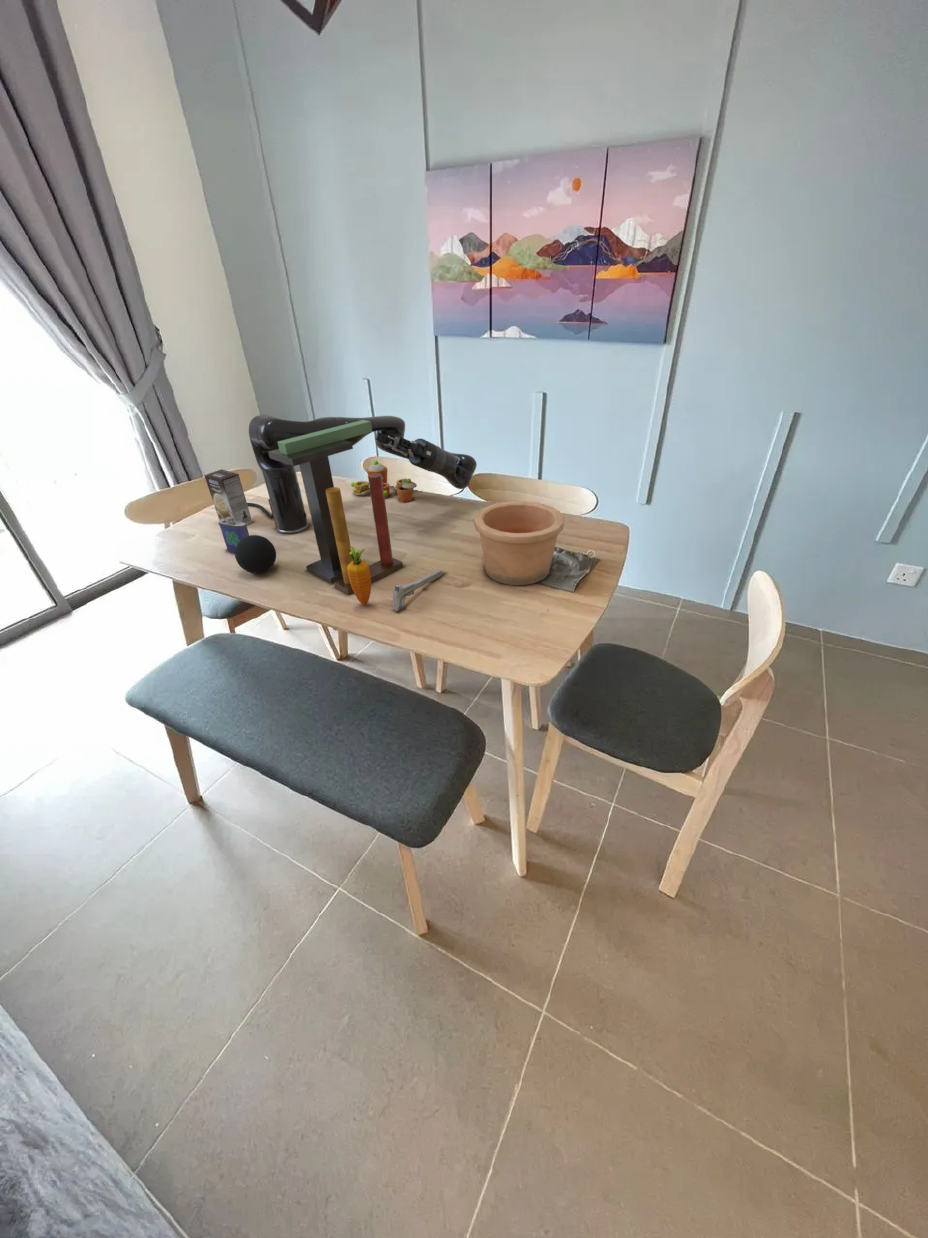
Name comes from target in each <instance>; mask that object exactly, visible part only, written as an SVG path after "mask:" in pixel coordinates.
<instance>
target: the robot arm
mask: <svg viewBox="0 0 928 1238" xmlns="http://www.w3.org/2000/svg"><path fill="white" fill-rule="evenodd" d="M361 420H367V421H371V426H372V432H370V433H366V434H362V435H359V436H355V437H352V438H348V439H344V441H348V442H352V446H353V447H354V446H355V445H356V444H358V443H359V442H360V441H362V440H363V439H364V438H366V437H367V436H368V435H370V434H372V433H374V432H375V433H376V434H375V437H374V441H375V445H376V447H377V448H378V449H380V450H381V451H383V452H386V453H388V454H391V455H394V456H397V457H400V458H403V459H406V460H408V461H409V463H410V464H411V465H413V466H414V467H418V468H420V469H421V470H425V471H427V472H430V473H434V474H436V475H440V476H442V477H443V478H444V479H445V480H446V481H447V482H448V483H449V484H450V485H451V486H452V487H453V488H455V489H457V490H464V489H466V488H468V486H469V485H470V482H471V480H472V478H473V476H474V474H475V471H476V470H477V466H478V463H477V461H476V459H475V458H474V457H473V456H471V455H469V454H465V453H456V452H455V453H454V452H451V451H447V450H445V449H443V448H441V447H440V446H438V445H436V444H434V443H432V442H430V441H428V440H426V439H424V438H416V439H414V440H408V439H406V438H405V433H406V422H405V421H404V420H403V418H401V417H399V416H396V415H395V416H394V415H377V416H375V415H374V416H366V417H354V416H353V417H351V416H350V417H349V416H348V417H346V416H324V417H318V418H315V419H312V420H308V421H302V420H301V421H299V420H290V419H283V418H279V417H275V416H271V415H268V414H258V415H256V416H254V417H253V418H252V419H251V420H250V422H249V424H248V437H249V441H250V445H251V447H252V448H251V449H252V451H253V454H254V458H255V461H256V463H257V465H258V467H259V468H260V470H261V473H262V476H263V479H264V482H265V487H266V491H267V494H268V497H269V498H268V504H269V507H270V511H271V513H270V512H269V511H268V510H266V509H265V508H264V507H263V506H262V505H261V504H258V503H253V502H247V505H248V507H255V508H258V509H260V510H261V511H262V512H263V513H264V514H265V515H266V516H267V517H268V518H269V519H272V520H273V522H274V526H275V529H277V531H278V532H279V533H280V534H287V535H288V534H289V535H290V534H297V533H300V532H303V531H305V530H306V529H307V528H309V525H310V524H309V522H308V515H307V512H306V509H305V503H304V501H303V496H302V492H301V488H300V484H299V479H298V474H297V471H296V466H292V465H289V464H286V463H283V462H280V461H277V460H274V459H271V458H270V457H269V453H268V452H269V451H273V450H276V449H279V446H278V441H282V440H286V439H290V438H294V437H298V436H302V435H306V434H310V433H314V432H317V431H321V430H325V429H329V428H333V427H337V426H341V425H345V424H349V423H353V422H357V421H361Z"/></svg>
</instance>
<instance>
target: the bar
mask: <svg viewBox="0 0 928 1238" xmlns="http://www.w3.org/2000/svg"><path fill="white" fill-rule="evenodd" d="M370 432H372V426H371V421H367V420H361V421H357V422H353V423H349V424H345V425H341V426H337V427H333V428H329V429H325V430H321V431H317V432H314V433H310V434H306V435H302V436H298V437H294V438H290V439H286V440H282V441H278V446H279V450H280V453H282V454H285V455H290V454H294V453H298V452H301V451H305V450H308V449H312V448H316V447H319V446H323V445H326V444H330V443H334V442H337V441H341V440H344V439H348V438H352V437H355V436H359V435H362V434H366V433H370ZM372 433H373V432H372ZM370 434H371V433H370Z"/></svg>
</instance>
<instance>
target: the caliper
mask: <svg viewBox="0 0 928 1238" xmlns="http://www.w3.org/2000/svg"><path fill="white" fill-rule="evenodd" d="M443 574H445V571H442V570H439V569H438V570H435V571H433V572H431V573H430V574H428V575H426V576H424V577H422V578H420V579H418V580H415V581H413V582H409V583H406V584H404V585H402V584H397V585H394V591H393V592H392V605H393V610H394V611H397V612H400V609H401V610H404V607H405V603H406V598H407V597H410V596H412V595H414V593H415V591H416V590H418V589H420V588H422V587H423V586H425V585H427V584H429V583H431V582H433V581H435V580H437V579H439V578H441V577H442V575H443Z"/></svg>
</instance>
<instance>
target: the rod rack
mask: <svg viewBox="0 0 928 1238" xmlns="http://www.w3.org/2000/svg"><path fill="white" fill-rule="evenodd" d="M367 480H368V483H369V488H370V493H369V494H370V499H371V506H372V515H373V520H374V527H375V533H376V539H377V547H378V553H379V560H378V561H376V562H374V563H372V564H370V565H369V564H368V566H369V569H370V577H371V584H372V583H374V582H376V581H379V580H380V579H382V578H384V577H386V576H388V575H390V574H393V573H394V572H396V571H398V570H400V569H401V568H404V565H403V561H401V560H399V559H397V558H395V557H393V552H392V543H391V537H390V528H389V522H388V521H389V520H388V513H387V505H386V498H384V490H383V483H382V475H381V474H380V473H372V474H369V475H368V474H367ZM326 496H327V501H328V506H329V510H330V515H331V520H332V525H333V530H334V535H335V540H336V545H337V550H338V555H339V560H340V565H341V569H342V574H343V579H341V580H338V581H336V582H334V583H333V584H334V588H335V589H337V590H339V591H341V592H343V593H345V594H346V595H351V594H353V593H354V591H353V589H352V586H351V584H350V580H349V576H348V571H347V566H348V565H349V564H350V563H351V562H352V561H353V559H352V558H351V556H350V552H351V549H350V548H351V547H352V546H351V540H350V536H349V530H348V524H347V518H346V512H345V507H344V501H343V496H342V490H341V488H340V487H337V486H334V487H332V488H328V489H326Z"/></svg>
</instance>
